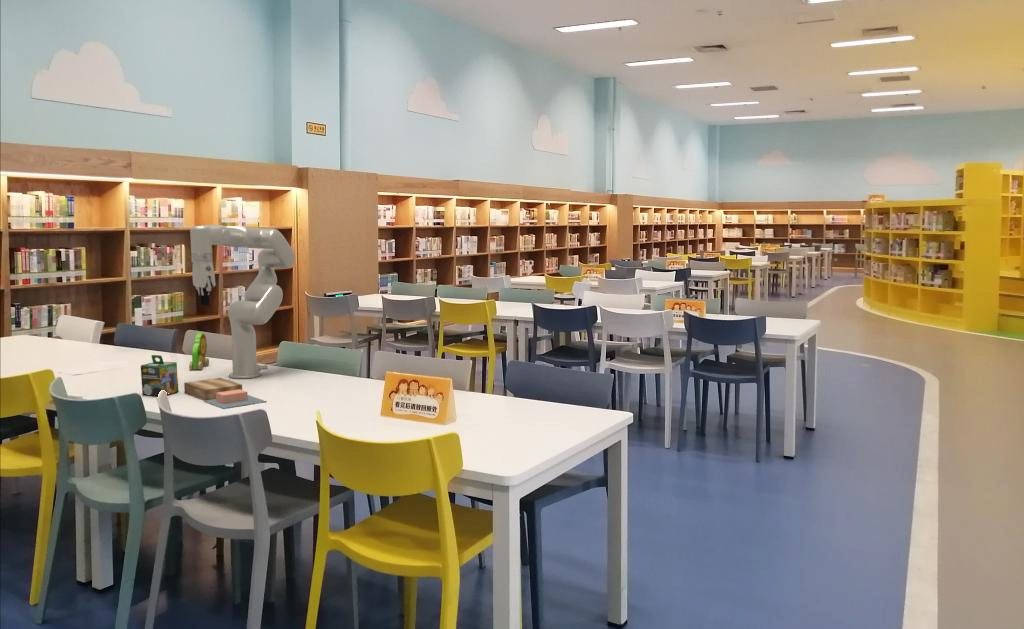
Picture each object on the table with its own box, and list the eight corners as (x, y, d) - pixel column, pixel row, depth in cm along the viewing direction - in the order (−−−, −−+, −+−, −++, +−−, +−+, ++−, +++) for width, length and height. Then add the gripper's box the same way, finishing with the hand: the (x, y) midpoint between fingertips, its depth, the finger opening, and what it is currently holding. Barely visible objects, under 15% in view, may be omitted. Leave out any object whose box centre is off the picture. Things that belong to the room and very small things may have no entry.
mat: (245, 395, 295) (245, 394, 295) (266, 402, 284) (266, 401, 284) (203, 401, 284) (203, 400, 284) (223, 409, 273) (223, 408, 273)
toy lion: (201, 370, 343) (200, 336, 341) (188, 371, 342) (187, 336, 341) (211, 364, 359) (210, 331, 357) (198, 364, 358) (197, 331, 356)
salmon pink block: (247, 391, 285) (247, 400, 286) (239, 389, 290) (240, 397, 290) (223, 395, 279) (223, 403, 280) (215, 392, 283) (216, 401, 284)
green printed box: (179, 392, 299) (177, 353, 298) (161, 397, 291) (159, 357, 289) (159, 390, 302) (157, 352, 301) (141, 395, 294) (139, 355, 292)
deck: (220, 387, 308) (220, 377, 307) (242, 395, 295) (242, 384, 295) (184, 393, 298) (184, 382, 297) (205, 400, 285) (205, 389, 285)
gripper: (220, 258, 303) (222, 306, 306) (202, 256, 313) (204, 303, 316) (201, 259, 298) (203, 307, 300) (183, 257, 308) (186, 304, 310)
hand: (204, 305), depth 308 cm, fingers closed
